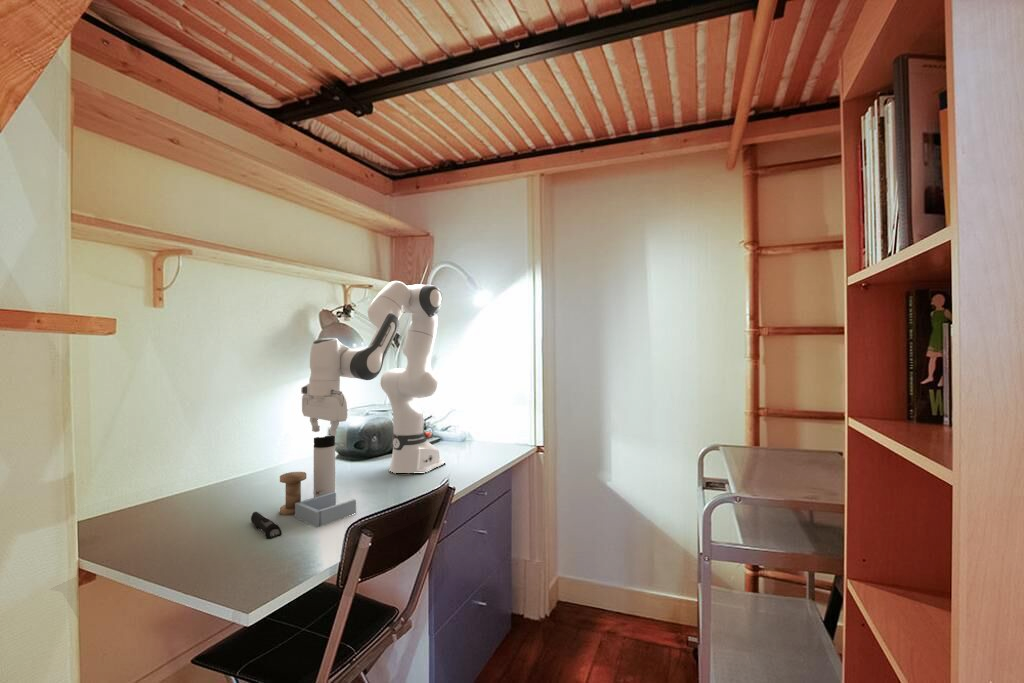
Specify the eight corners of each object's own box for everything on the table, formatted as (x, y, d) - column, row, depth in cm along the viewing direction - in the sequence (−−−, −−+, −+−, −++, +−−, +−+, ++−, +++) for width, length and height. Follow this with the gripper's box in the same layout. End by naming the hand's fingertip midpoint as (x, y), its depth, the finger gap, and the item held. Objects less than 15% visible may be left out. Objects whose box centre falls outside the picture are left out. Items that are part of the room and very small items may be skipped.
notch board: (333, 505, 135) (333, 491, 135) (355, 513, 128) (356, 499, 128) (295, 517, 125) (295, 503, 125) (317, 527, 118) (317, 512, 118)
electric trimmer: (262, 520, 125) (262, 508, 125) (283, 536, 114) (283, 523, 114) (247, 524, 122) (247, 512, 122) (267, 541, 111) (267, 528, 111)
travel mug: (317, 504, 136) (317, 438, 136) (311, 498, 141) (311, 434, 141) (338, 499, 140) (338, 435, 140) (331, 493, 145) (331, 432, 145)
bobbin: (298, 504, 135) (298, 470, 135) (311, 509, 131) (311, 474, 131) (275, 511, 129) (275, 475, 129) (287, 517, 125) (287, 480, 125)
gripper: (353, 390, 137) (352, 436, 136) (316, 386, 149) (316, 428, 148) (334, 392, 131) (333, 439, 131) (298, 387, 144) (297, 430, 143)
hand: (323, 433), depth 140 cm, fingers open, 8 cm apart
